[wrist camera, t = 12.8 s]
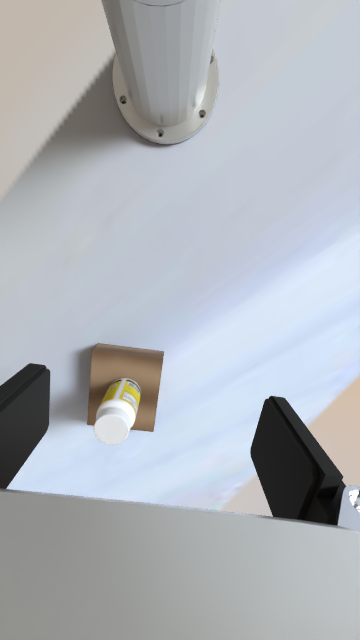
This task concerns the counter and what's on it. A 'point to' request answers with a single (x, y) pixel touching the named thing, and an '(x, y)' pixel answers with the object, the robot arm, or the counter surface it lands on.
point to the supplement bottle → (117, 411)
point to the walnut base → (126, 364)
